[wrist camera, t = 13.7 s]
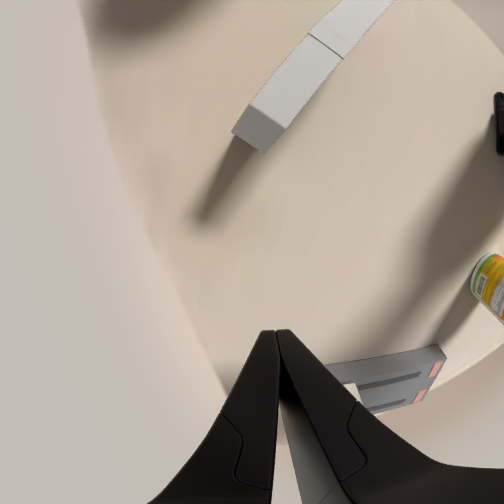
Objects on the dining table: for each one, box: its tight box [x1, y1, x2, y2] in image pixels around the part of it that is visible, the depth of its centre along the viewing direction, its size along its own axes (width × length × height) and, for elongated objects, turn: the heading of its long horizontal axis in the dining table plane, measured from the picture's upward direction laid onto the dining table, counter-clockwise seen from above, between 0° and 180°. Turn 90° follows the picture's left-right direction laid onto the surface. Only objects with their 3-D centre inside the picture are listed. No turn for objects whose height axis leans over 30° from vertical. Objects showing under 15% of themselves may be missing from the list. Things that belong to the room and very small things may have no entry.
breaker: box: [344, 383, 363, 405], centre depth 21 cm, size 2×3×4 cm
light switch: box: [231, 0, 395, 154], centre depth 11 cm, size 2×12×8 cm, turn 145°
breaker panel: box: [324, 344, 447, 414], centre depth 26 cm, size 17×8×3 cm, turn 91°
